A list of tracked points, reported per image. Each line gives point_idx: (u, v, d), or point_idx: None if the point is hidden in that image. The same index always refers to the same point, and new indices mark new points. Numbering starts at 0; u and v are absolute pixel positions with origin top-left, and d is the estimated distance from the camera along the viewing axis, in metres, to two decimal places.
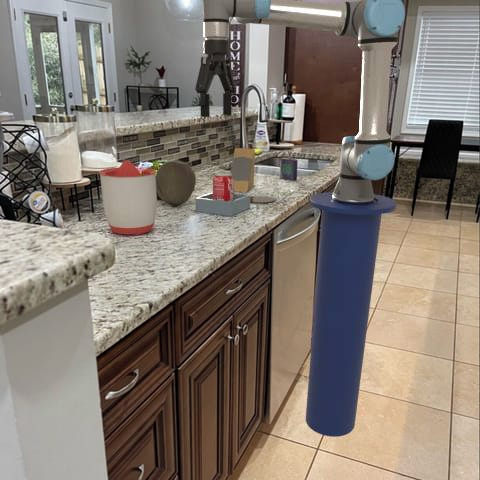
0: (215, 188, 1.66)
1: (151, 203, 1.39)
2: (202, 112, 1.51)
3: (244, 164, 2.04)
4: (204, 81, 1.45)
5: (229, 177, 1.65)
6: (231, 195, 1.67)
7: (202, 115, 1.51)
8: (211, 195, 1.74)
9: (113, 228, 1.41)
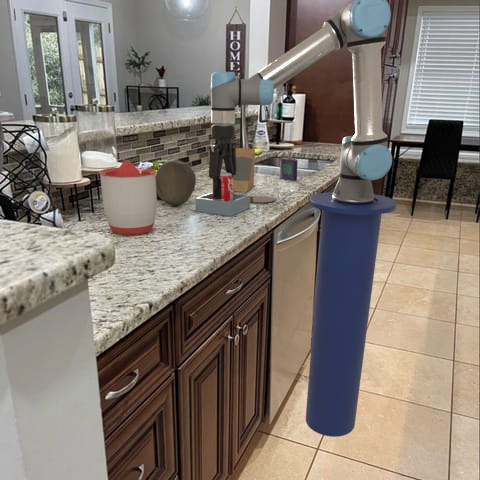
0: None
1: (151, 203, 1.39)
2: (214, 194, 1.66)
3: (244, 164, 2.04)
4: (215, 169, 1.60)
5: (229, 177, 1.65)
6: (231, 195, 1.67)
7: (214, 197, 1.66)
8: (211, 195, 1.74)
9: (113, 228, 1.41)
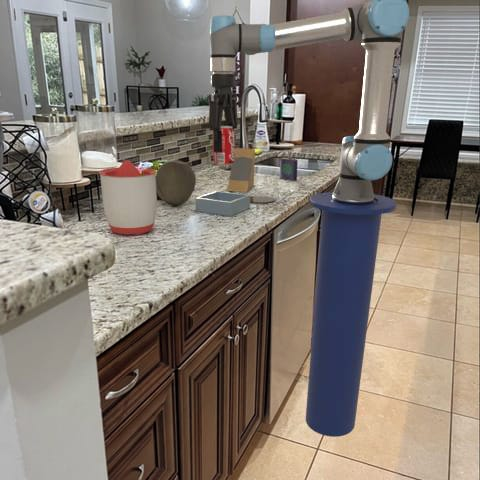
0: None
1: (151, 203, 1.39)
2: (215, 147, 1.60)
3: (244, 164, 2.04)
4: (216, 119, 1.54)
5: (230, 129, 1.59)
6: (232, 149, 1.61)
7: (215, 150, 1.60)
8: (211, 195, 1.74)
9: (113, 228, 1.41)
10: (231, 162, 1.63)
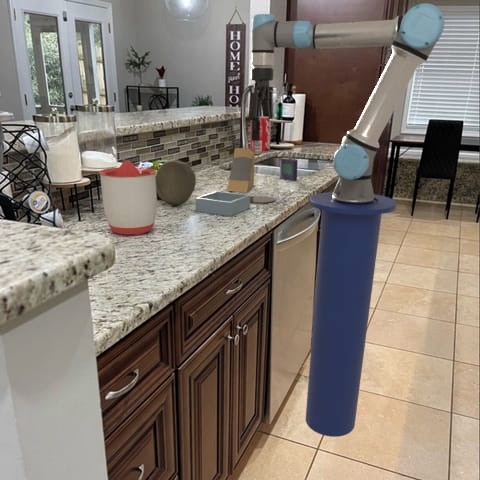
0: None
1: (151, 203, 1.39)
2: (253, 136, 1.73)
3: (244, 164, 2.04)
4: (255, 110, 1.67)
5: (267, 119, 1.72)
6: (268, 137, 1.74)
7: (253, 139, 1.73)
8: (211, 195, 1.74)
9: (113, 228, 1.41)
10: (267, 150, 1.76)
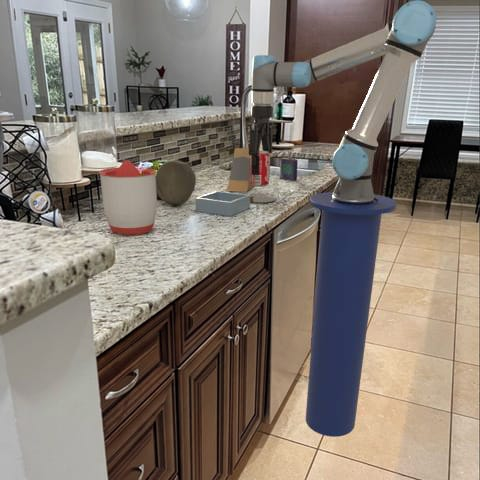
0: None
1: (151, 203, 1.39)
2: (253, 170, 1.78)
3: (244, 164, 2.04)
4: (255, 146, 1.72)
5: (266, 154, 1.77)
6: (268, 171, 1.80)
7: (253, 173, 1.78)
8: (211, 195, 1.74)
9: (113, 228, 1.41)
10: (266, 183, 1.81)
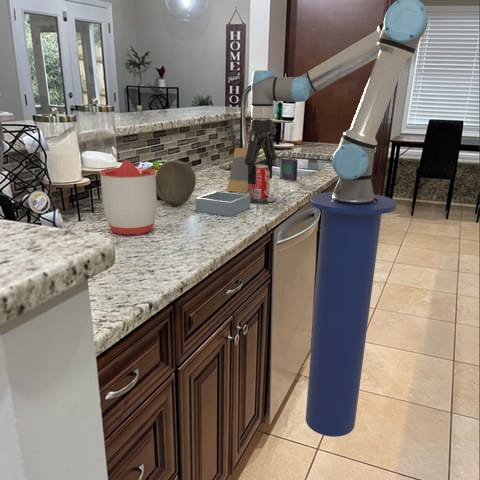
0: None
1: (151, 203, 1.39)
2: (249, 180, 1.77)
3: (244, 164, 2.04)
4: (252, 156, 1.71)
5: (266, 169, 1.79)
6: (267, 185, 1.82)
7: (249, 182, 1.77)
8: (211, 195, 1.74)
9: (113, 228, 1.41)
10: (266, 197, 1.83)
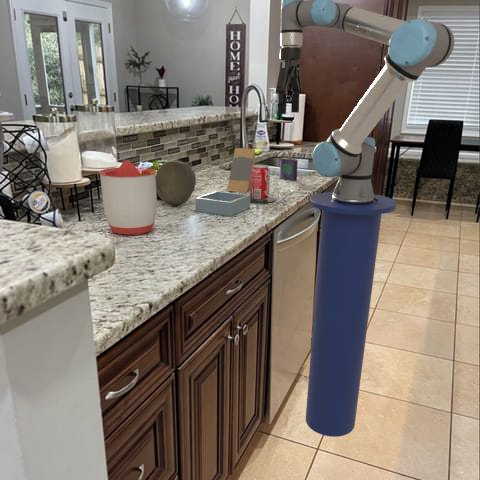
0: (252, 179, 1.80)
1: (151, 203, 1.39)
2: (279, 110, 1.75)
3: (244, 164, 2.04)
4: (284, 83, 1.69)
5: (266, 169, 1.79)
6: (267, 185, 1.82)
7: (279, 112, 1.75)
8: (211, 195, 1.74)
9: (113, 228, 1.41)
10: (266, 197, 1.83)
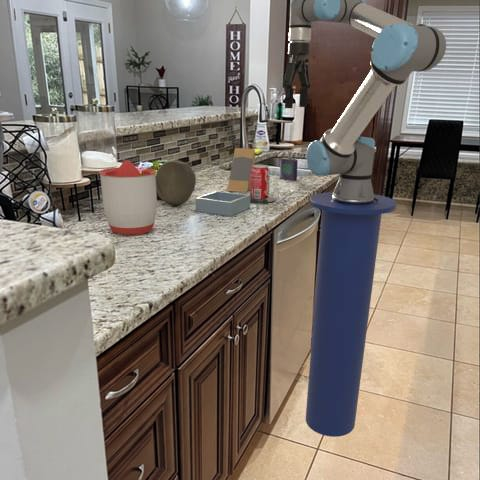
0: (252, 179, 1.80)
1: (151, 203, 1.39)
2: (286, 104, 1.77)
3: (244, 164, 2.04)
4: (290, 77, 1.72)
5: (266, 169, 1.79)
6: (267, 185, 1.82)
7: (286, 107, 1.78)
8: (211, 195, 1.74)
9: (113, 228, 1.41)
10: (266, 197, 1.83)
